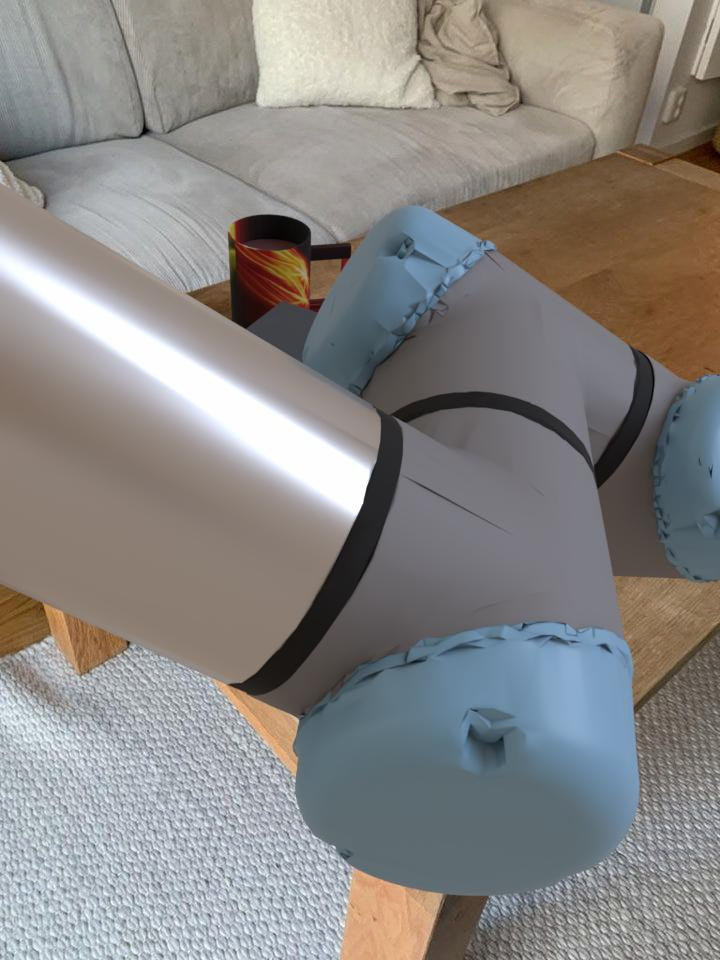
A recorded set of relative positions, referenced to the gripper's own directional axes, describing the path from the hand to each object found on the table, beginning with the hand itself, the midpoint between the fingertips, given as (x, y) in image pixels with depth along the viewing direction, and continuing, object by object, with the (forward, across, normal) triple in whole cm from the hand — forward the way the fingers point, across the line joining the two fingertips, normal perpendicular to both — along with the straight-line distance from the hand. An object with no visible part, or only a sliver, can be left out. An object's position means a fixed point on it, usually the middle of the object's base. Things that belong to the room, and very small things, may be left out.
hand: (364, 523), depth 64 cm
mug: (+38, +13, +25) cm, 48 cm away
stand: (+24, +6, +11) cm, 27 cm away
